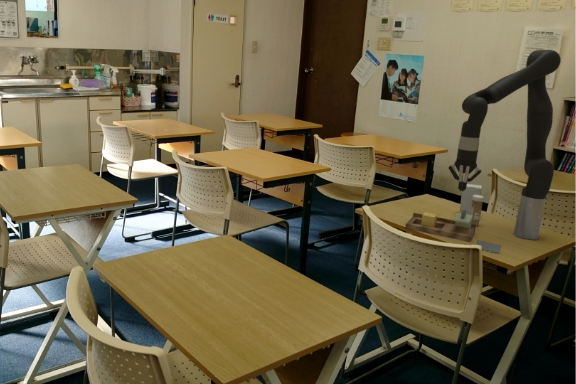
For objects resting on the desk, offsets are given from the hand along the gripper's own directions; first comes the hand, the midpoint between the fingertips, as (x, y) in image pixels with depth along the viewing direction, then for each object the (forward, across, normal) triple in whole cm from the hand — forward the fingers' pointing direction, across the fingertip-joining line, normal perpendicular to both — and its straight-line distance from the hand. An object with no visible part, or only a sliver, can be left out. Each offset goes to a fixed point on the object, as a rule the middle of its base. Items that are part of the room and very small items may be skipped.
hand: (461, 190), depth 208 cm
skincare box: (+19, -1, -30) cm, 36 cm away
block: (+18, +11, +1) cm, 21 cm away
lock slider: (+16, -2, 0) cm, 16 cm away
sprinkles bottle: (+19, -5, -18) cm, 26 cm away
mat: (+19, -13, +8) cm, 24 cm away
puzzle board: (+18, +6, +1) cm, 19 cm away
